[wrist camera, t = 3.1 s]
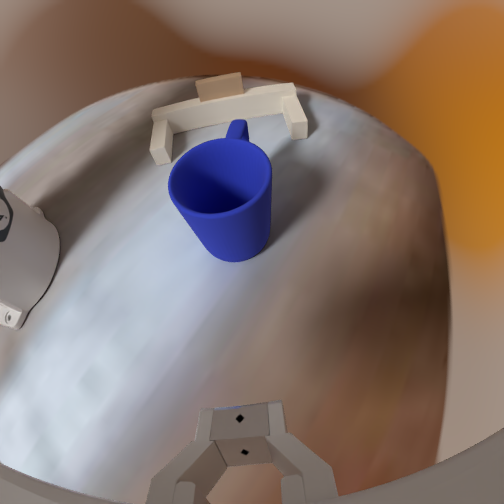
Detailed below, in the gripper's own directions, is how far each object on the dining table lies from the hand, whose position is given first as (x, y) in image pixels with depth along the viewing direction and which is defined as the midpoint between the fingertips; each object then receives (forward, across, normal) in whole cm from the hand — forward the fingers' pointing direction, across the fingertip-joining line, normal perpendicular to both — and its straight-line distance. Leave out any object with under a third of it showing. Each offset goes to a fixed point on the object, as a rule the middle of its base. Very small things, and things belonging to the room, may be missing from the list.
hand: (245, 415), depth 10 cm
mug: (+24, 0, -2) cm, 24 cm away
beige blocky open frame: (+35, 0, -13) cm, 37 cm away
